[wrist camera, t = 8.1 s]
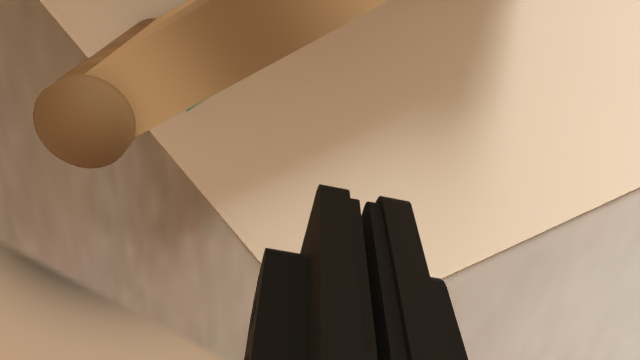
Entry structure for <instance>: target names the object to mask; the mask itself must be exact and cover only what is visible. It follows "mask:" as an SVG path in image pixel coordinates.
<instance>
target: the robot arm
mask: <svg viewBox="0 0 640 360" xmlns="http://www.w3.org/2000/svg"><path fill="white" fill-rule="evenodd" d="M244 360H468V358H467V354H466V351H465V347H464V344H463V341H462V337H461V334H460V330H459V327H458V324H457V320H456V317H455V314H454V310H453V307H452V303H451V300H450V297H449V293H448V290H447V287H446V285H445V282H444V281H443V280H441V279H440V278H434V277H430V274H429V270H428V266H427V262H426V258H425V255H424V251H423V247H422V243H421V239H420V236H419V232H418V228H417V224H416V220H415V217H414V213H413V209H412V205H411V203H410V202H409V201H405V200H399V199H394V198H389V197H384V196H379V197H378V199H377V200H376V203H374V202H368V201H367V202H366V204H365V206H364V209H363V212H362V215H361V208H360V201H359V200H358V199H353V198H350V191H349V190H348V189H342V188H337V187H332V186H327V185H322V184H319V186H318V188H317V191H316V195H315V198H314V202H313V206H312V210H311V214H310V217H309V221H308V225H307V229H306V233H305V236H304V240H303V244H302V248H301V252H300V254H299V253H293V252H288V251H282V250H276V249H271V248H265V251H264V255H263V259H262V264H261V268H260V273H259V277H258V282H257V287H256V292H255V297H254V302H253V308H252V313H251V319H250V325H249V332H248V339H247V345H246V352H245V358H244Z"/></svg>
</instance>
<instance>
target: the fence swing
mask: <svg viewBox="0 0 640 360" xmlns="http://www.w3.org/2000/svg"><path fill="white" fill-rule="evenodd" d="M388 1H389V0H187V1H185V2H184V3H182V4H180V5H179V6H177V7H175V8H173V9H172V10H170V11H168V12H167V13H165V14H163V15H162V16H160V17H158V18H150V19H145V20H142V21H140V22H138V23H137V24H136V25H134V26H133V27H131V28H130V29H129V30H127V31H126V32H124V33H123V34H122V35H120V36H119V37H117V38H116V39H115V40H113V41H112V42H111V43H109V44H108V45H106V46H105V47H104V48H102V49H101V50H99V51H98V52H97V53H95V54H94V55H92V56H91V57H90V58H88V59H87V60H85V61H84V62H83V63H81V64H80V65H79V66H77V67H76V68H74V69H73V70H72V71H70V72H69V73H67V74H66V75H65V76H63V77H62V78H60V79H59V80H58V81H56V82H55V83H53V84H52V85H51V86H49V87H48V88H47V89H45V90H44V91H43V92H42V93H41V94H40V96H39V97H38V99H37V101H36V103H35V106H34V112H33V119H34V125H35V128H36V131H37V134H38V136H39V138H40V139H41V141H42V142H43V144H44V145H45V146H46V147H47V148H48V149H49V150H50V151H51V152H52V153H53V154H54V155H55V156H57V157H58V158H60V159H61V160H63V161H65V162H67V163H69V164H71V165H74V166H78V167H82V168H100V167H104V166H107V165H109V164H112V163H113V162H115V161H116V160H117V159H119V158H120V157H121V155H122V154H123V153H124V152H125V150H126V149H127V148H128V146H129V145H130V144H131V143H132V141H133V140H134V139H135V137H137V136H139V135H140V134H142V133H144V132H146V131H148V130H150V129H152V128H154V127H155V126H157V125H159V124H161V123H163V122H165V121H167V120H168V119H170V118H172V117H174V116H176V115H178V114H180V113H181V112H183V111H185V110H187V109H189V108H191V107H193V106H194V105H196V104H198V103H200V102H202V101H204V100H206V99H207V98H209V97H211V96H213V95H215V94H217V93H219V92H220V91H222V90H224V89H226V88H228V87H230V86H232V85H233V84H235V83H237V82H239V81H241V80H243V79H245V78H246V77H248V76H250V75H252V74H254V73H256V72H258V71H259V70H261V69H263V68H265V67H267V66H269V65H271V64H272V63H274V62H276V61H278V60H280V59H282V58H284V57H285V56H287V55H289V54H291V53H293V52H295V51H297V50H298V49H300V48H302V47H304V46H306V45H308V44H310V43H311V42H313V41H315V40H317V39H319V38H321V37H323V36H324V35H326V34H328V33H330V32H332V31H334V30H336V29H337V28H339V27H341V26H343V25H345V24H347V23H349V22H350V21H352V20H354V19H356V18H358V17H360V16H362V15H363V14H365V13H367V12H369V11H371V10H373V9H375V8H376V7H378V6H380V5H382V4H384V3H386V2H388Z"/></svg>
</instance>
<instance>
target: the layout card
mask: <svg viewBox="0 0 640 360" xmlns="http://www.w3.org/2000/svg"><path fill="white" fill-rule="evenodd" d="M185 1H187V0H40V2H41V3H42V4H43V5H44V6H45V8H46V9H47V10H48V11H49V12H50V14H51V15H52V16H53V17H54V18H55V19H56V21H57V22H58V23H59V24H60V25H61V27H62V28H63V29H64V30H65V31H66V33H67V34H68V35H69V36H70V37H71V38H72V40H73V41H74V42H75V43H76V44H77V46H78V47H79V48H80V49H81V50H82V52H83V53H84V54H85V55H86V56H87V57H88V58H90V57H91V56H92V55H94V54H95V53H97V52H98V51H99V50H101V49H102V48H104V47H105V46H106V45H108V44H109V43H111V42H112V41H113V40H115V39H116V38H117V37H119V36H120V35H122V34H123V33H124V32H126V31H127V30H129V29H130V28H131V27H133V26H134V25H136V24H137V23H138V22H140V21H142V20H145V19H150V18H158V17H160V16H162V15H163V14H165V13H167V12H168V11H170V10H172V9H173V8H175V7H177V6H179V5H180V4H182V3H184V2H185ZM149 131H150V132H151V133H152V135H153V136H154V137H155V138H156V139H157V141H158V142H159V143H160V144H161V145H162V147H163V148H164V149H165V150H166V151H167V152H168V154H169V155H170V156H171V157H172V158H173V160H174V161H175V162H176V163H177V164H178V165H179V167H180V168H181V169H182V170H183V171H184V173H185V174H186V175H187V176H188V177H189V179H190V180H191V181H192V182H193V183H194V184H195V186H196V187H197V188H198V189H199V190H200V192H201V193H202V194H203V195H204V196H205V198H206V199H207V200H208V201H209V202H210V203H211V205H212V206H213V207H214V208H215V209H216V211H217V212H218V213H219V214H220V215H221V217H222V218H223V219H224V220H225V221H226V222H227V224H228V225H229V226H230V227H231V228H232V230H233V231H234V232H235V233H236V234H237V236H238V237H239V238H240V239H241V240H242V241H243V243H244V244H245V245H246V246H247V247H248V249H249V250H250V251H251V252H252V253H253V255H254V256H255V257H256V258H257V259H258V260H259V262H260V263H261V264H262V259H263V255H264V251H265V248H271V249H276V250H282V251H288V252H293V253H299V254H300V252H301V248H302V244H303V240H304V236H305V233H306V229H307V225H308V221H309V217H310V214H311V210H312V206H313V202H314V198H315V195H316V191H317V188H318V186H319V184H322V185H327V186H332V187H337V188H342V189H348V190H349V191H350V198H353V199H358V200H359V201H360V208H361V215H362V212H363V209H364V206H365V204H366V202H367V201H368V202H374V203H376V200H377V199H378V197H379V196H384V197H389V198H394V199H399V200H405V201H409V202H410V203H411V205H412V209H413V213H414V217H415V220H416V224H417V228H418V232H419V236H420V239H421V243H422V247H423V251H424V255H425V258H426V262H427V266H428V270H429V274H430V277H434V278H440V279H442V278H444V277H446V276H449V275H451V274H453V273H455V272H457V271H459V270H462V269H464V268H466V267H468V266H470V265H472V264H475V263H477V262H479V261H481V260H483V259H485V258H488V257H490V256H492V255H494V254H496V253H498V252H501V251H503V250H505V249H507V248H509V247H511V246H514V245H516V244H518V243H520V242H522V241H524V240H526V239H529V238H531V237H533V236H535V235H537V234H539V233H542V232H544V231H546V230H548V229H550V228H552V227H555V226H557V225H559V224H561V223H563V222H565V221H568V220H570V219H572V218H574V217H576V216H578V215H581V214H583V213H585V212H587V211H589V210H591V209H594V208H596V207H598V206H600V205H602V204H604V203H607V202H609V201H611V200H613V199H615V198H617V197H620V196H622V195H624V194H626V193H628V192H630V191H633V190H635V189H637V188H639V187H640V0H389V1H388V2H386V3H384V4H382V5H380V6H378V7H376V8H375V9H373V10H371V11H369V12H367V13H365V14H363V15H362V16H360V17H358V18H356V19H354V20H352V21H350V22H349V23H347V24H345V25H343V26H341V27H339V28H337V29H336V30H334V31H332V32H330V33H328V34H326V35H324V36H323V37H321V38H319V39H317V40H315V41H313V42H311V43H310V44H308V45H306V46H304V47H302V48H300V49H298V50H297V51H295V52H293V53H291V54H289V55H287V56H285V57H284V58H282V59H280V60H278V61H276V62H274V63H272V64H271V65H269V66H267V67H265V68H263V69H261V70H259V71H258V72H256V73H254V74H252V75H250V76H248V77H246V78H245V79H243V80H241V81H239V82H237V83H235V84H233V85H232V86H230V87H228V88H226V89H224V90H222V91H220V92H219V93H217V94H215V95H213V96H211V97H209V98H207V99H206V100H204V101H202V102H200V103H198V104H196V105H194V106H193V107H191V108H189V109H187V110H185V111H183V112H181V113H180V114H178V115H176V116H174V117H172V118H170V119H168V120H167V121H165V122H163V123H161V124H159V125H157V126H155V127H154V128H152V129H150V130H149Z"/></svg>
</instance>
